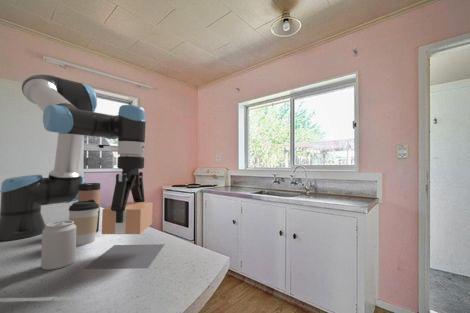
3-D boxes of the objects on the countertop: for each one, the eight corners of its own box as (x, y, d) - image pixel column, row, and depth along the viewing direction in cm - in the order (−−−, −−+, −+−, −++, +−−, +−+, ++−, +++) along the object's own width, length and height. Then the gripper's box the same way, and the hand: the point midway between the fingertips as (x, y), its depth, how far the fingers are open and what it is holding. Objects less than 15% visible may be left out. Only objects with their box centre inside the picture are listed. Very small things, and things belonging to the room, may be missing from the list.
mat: (114, 246, 74) (114, 245, 74) (164, 246, 75) (164, 244, 75) (82, 271, 57) (82, 269, 57) (147, 270, 58) (147, 267, 58)
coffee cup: (82, 249, 72) (83, 204, 72) (60, 247, 74) (61, 202, 74) (104, 240, 81) (105, 199, 81) (83, 238, 83) (84, 198, 83)
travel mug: (102, 231, 91) (104, 183, 92) (82, 236, 85) (83, 185, 85) (93, 228, 95) (95, 182, 96) (73, 233, 89) (75, 184, 89)
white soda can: (36, 275, 55) (38, 227, 56) (45, 263, 62) (47, 220, 62) (72, 268, 59) (74, 224, 59) (77, 258, 65) (78, 218, 66)
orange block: (119, 223, 72) (120, 202, 72) (152, 223, 72) (152, 202, 73) (101, 234, 61) (102, 209, 61) (139, 234, 62) (140, 209, 62)
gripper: (127, 155, 56) (124, 241, 55) (155, 157, 79) (153, 217, 79) (97, 154, 56) (94, 241, 55) (134, 156, 79) (132, 217, 78)
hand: (129, 227), depth 67 cm, fingers closed on orange block, 11 cm apart
